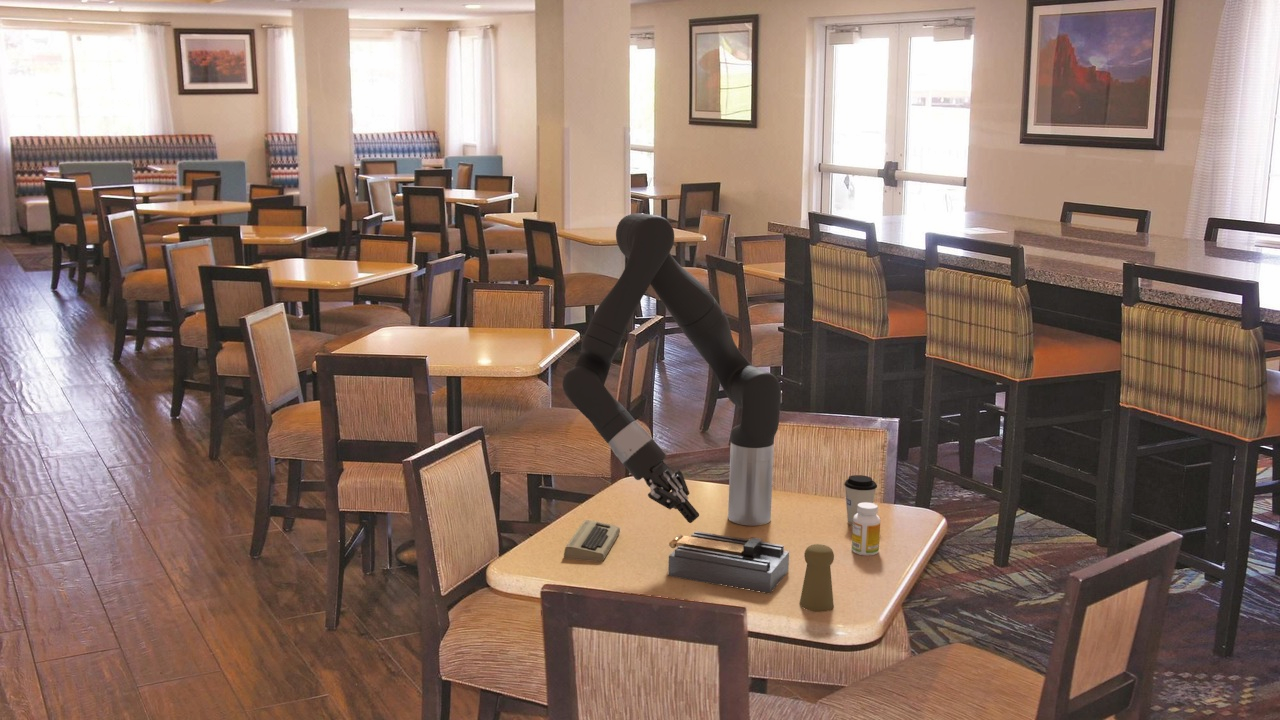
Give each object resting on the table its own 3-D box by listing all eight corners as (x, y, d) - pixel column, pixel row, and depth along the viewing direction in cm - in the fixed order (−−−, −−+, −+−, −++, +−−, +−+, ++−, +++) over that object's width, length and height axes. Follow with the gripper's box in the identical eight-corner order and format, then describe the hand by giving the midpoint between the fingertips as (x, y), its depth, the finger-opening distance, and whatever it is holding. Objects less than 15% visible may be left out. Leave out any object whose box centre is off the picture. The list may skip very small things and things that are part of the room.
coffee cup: (878, 520, 254) (881, 476, 252) (870, 530, 248) (873, 485, 246) (846, 515, 257) (849, 471, 255) (838, 525, 251) (840, 480, 249)
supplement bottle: (880, 548, 238) (883, 502, 236) (876, 557, 233) (879, 511, 231) (853, 545, 239) (856, 499, 237) (849, 554, 234) (852, 507, 232)
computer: (603, 564, 228) (603, 548, 227) (563, 560, 230) (563, 544, 229) (620, 536, 243) (620, 521, 243) (582, 533, 245) (582, 518, 244)
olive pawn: (796, 598, 212) (799, 540, 210) (829, 597, 213) (832, 540, 211) (803, 612, 206) (806, 553, 204) (837, 611, 207) (840, 552, 205)
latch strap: (676, 540, 229) (677, 534, 228) (747, 552, 223) (748, 545, 223) (669, 547, 225) (669, 540, 225) (741, 559, 219) (741, 551, 219)
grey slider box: (690, 554, 233) (691, 521, 231) (788, 571, 225) (789, 536, 223) (668, 575, 222) (669, 540, 220) (769, 593, 214) (771, 557, 213)
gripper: (636, 447, 219) (696, 519, 216) (662, 430, 230) (720, 498, 228) (610, 470, 222) (669, 541, 220) (637, 452, 234) (693, 519, 232)
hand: (695, 519), depth 224 cm, fingers closed
